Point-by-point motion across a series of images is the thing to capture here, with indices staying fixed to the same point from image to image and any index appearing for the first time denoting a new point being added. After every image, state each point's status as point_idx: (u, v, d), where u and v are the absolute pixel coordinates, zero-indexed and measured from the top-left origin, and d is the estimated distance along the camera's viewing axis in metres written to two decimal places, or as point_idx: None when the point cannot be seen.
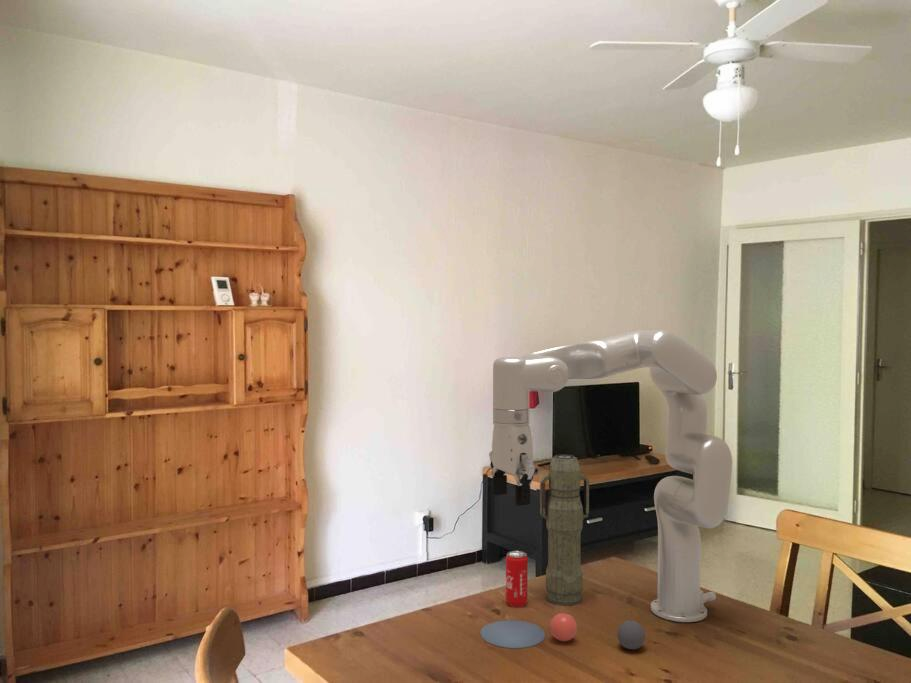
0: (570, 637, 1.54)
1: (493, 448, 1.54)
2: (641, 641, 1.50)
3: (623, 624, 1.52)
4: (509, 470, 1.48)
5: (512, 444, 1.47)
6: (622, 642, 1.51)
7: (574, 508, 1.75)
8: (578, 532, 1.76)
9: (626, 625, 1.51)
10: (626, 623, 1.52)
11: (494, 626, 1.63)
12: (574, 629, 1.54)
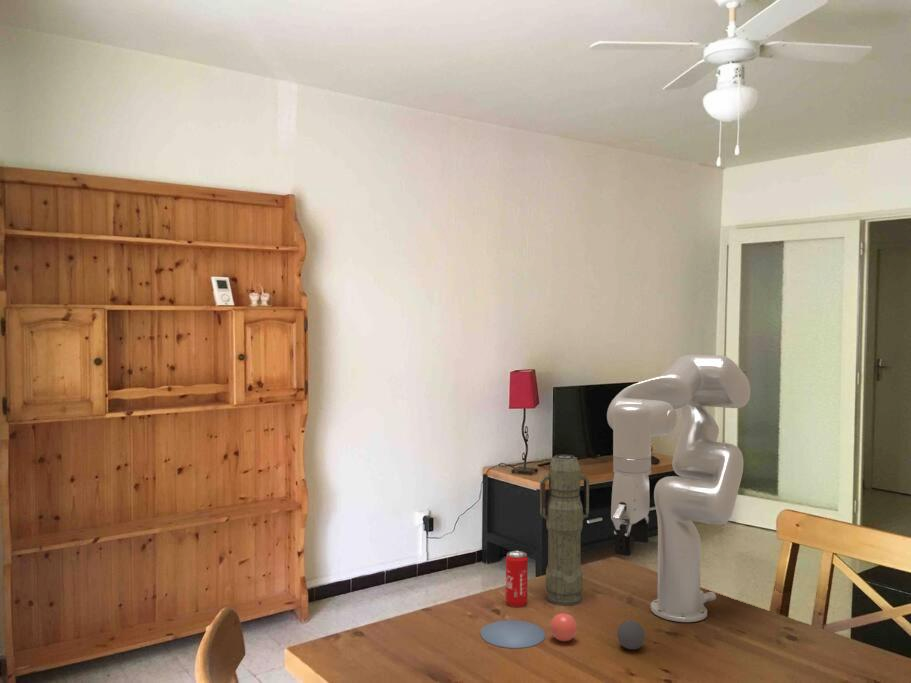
0: (570, 637, 1.54)
1: (636, 503, 1.46)
2: (641, 641, 1.50)
3: (623, 624, 1.52)
4: (647, 513, 1.51)
5: None
6: (622, 642, 1.51)
7: (574, 508, 1.75)
8: (578, 532, 1.76)
9: (626, 625, 1.51)
10: (626, 623, 1.52)
11: (494, 626, 1.63)
12: (574, 629, 1.54)
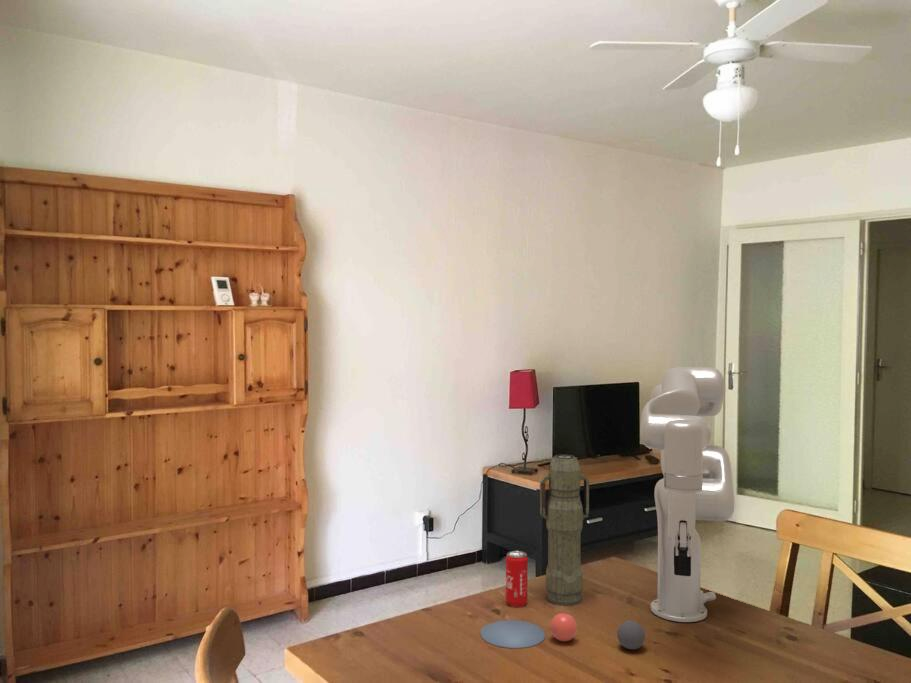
0: (570, 637, 1.54)
1: (694, 520, 1.45)
2: (641, 641, 1.50)
3: (623, 624, 1.52)
4: None
5: None
6: (622, 642, 1.51)
7: (574, 508, 1.75)
8: (578, 532, 1.76)
9: (626, 625, 1.51)
10: (626, 623, 1.52)
11: (494, 626, 1.63)
12: (574, 629, 1.54)
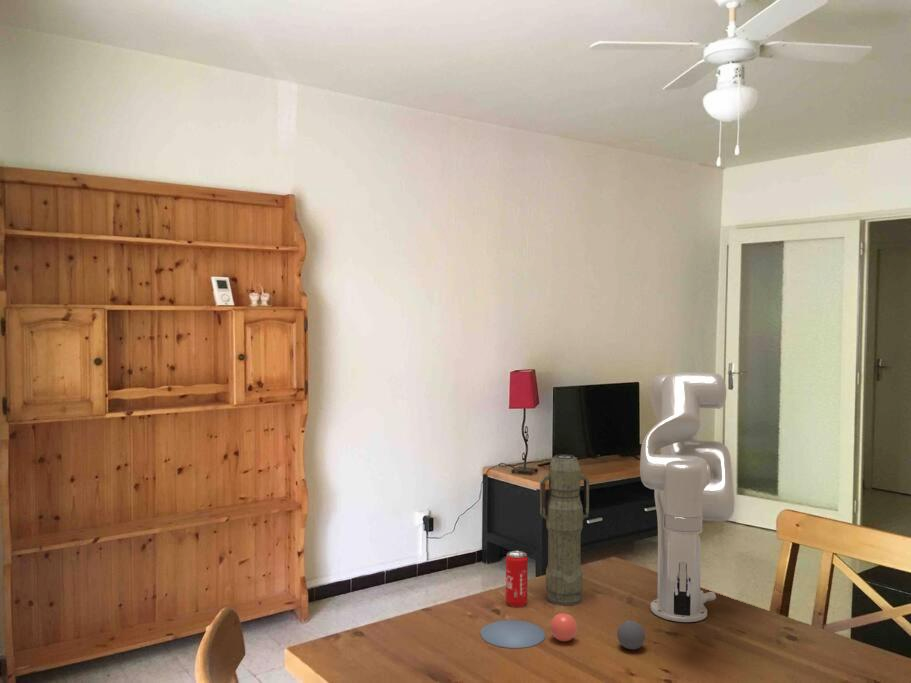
0: (570, 637, 1.54)
1: (694, 562, 1.45)
2: (641, 641, 1.50)
3: (623, 624, 1.52)
4: None
5: None
6: (622, 642, 1.51)
7: (574, 508, 1.75)
8: (578, 532, 1.76)
9: (626, 625, 1.51)
10: (626, 623, 1.52)
11: (494, 626, 1.63)
12: (574, 629, 1.54)
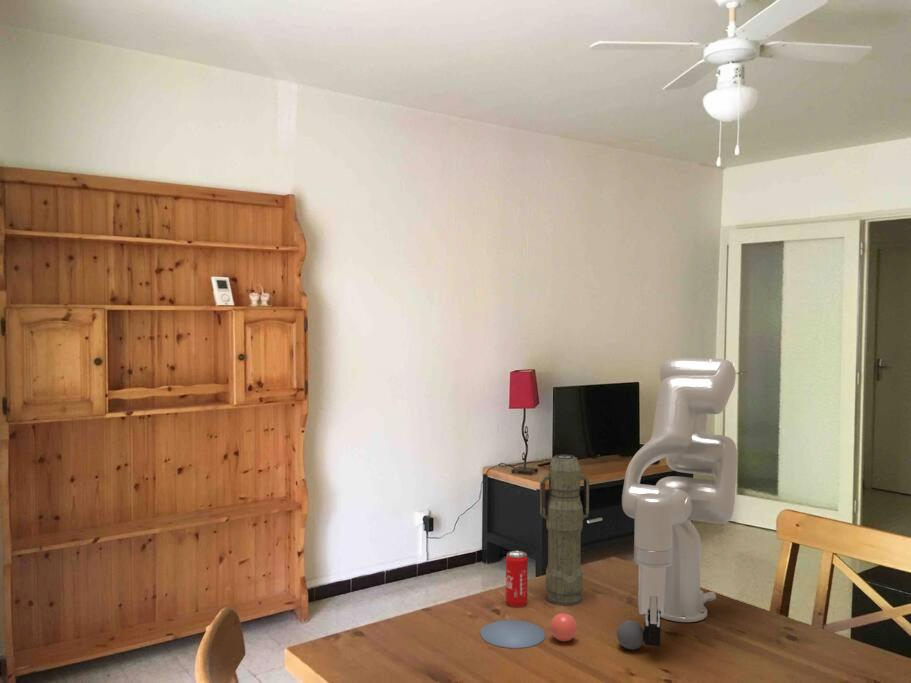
0: (570, 637, 1.54)
1: (664, 595, 1.47)
2: (641, 641, 1.50)
3: (623, 624, 1.52)
4: None
5: None
6: (622, 642, 1.51)
7: (574, 508, 1.75)
8: (578, 532, 1.76)
9: (626, 625, 1.51)
10: (626, 623, 1.52)
11: (494, 626, 1.63)
12: (574, 629, 1.54)
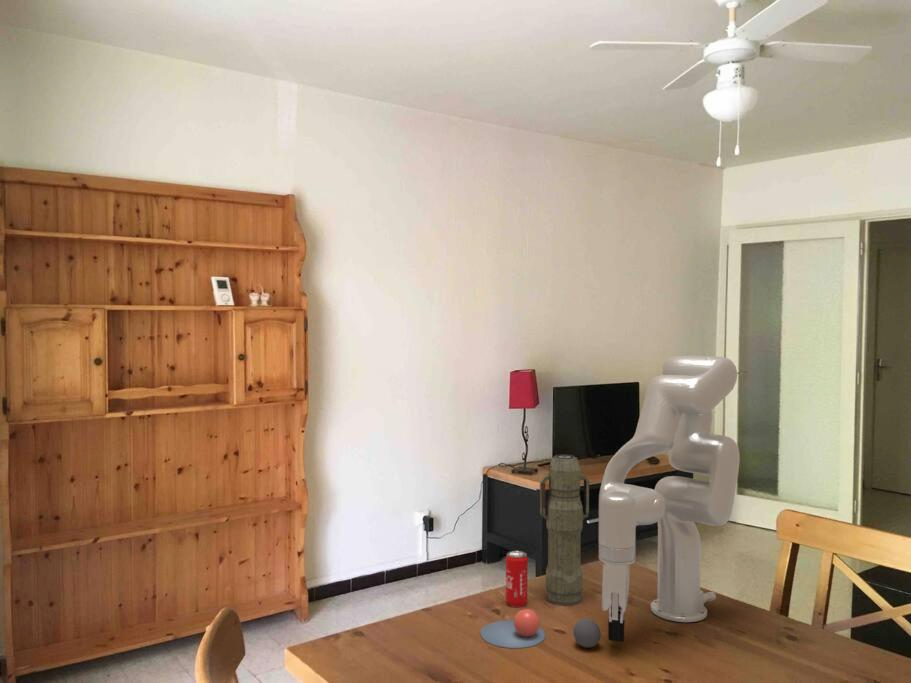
0: (519, 617, 1.57)
1: (626, 592, 1.49)
2: (577, 635, 1.52)
3: None
4: None
5: None
6: (596, 637, 1.51)
7: (574, 508, 1.75)
8: (578, 532, 1.76)
9: None
10: None
11: (494, 626, 1.63)
12: (514, 621, 1.58)
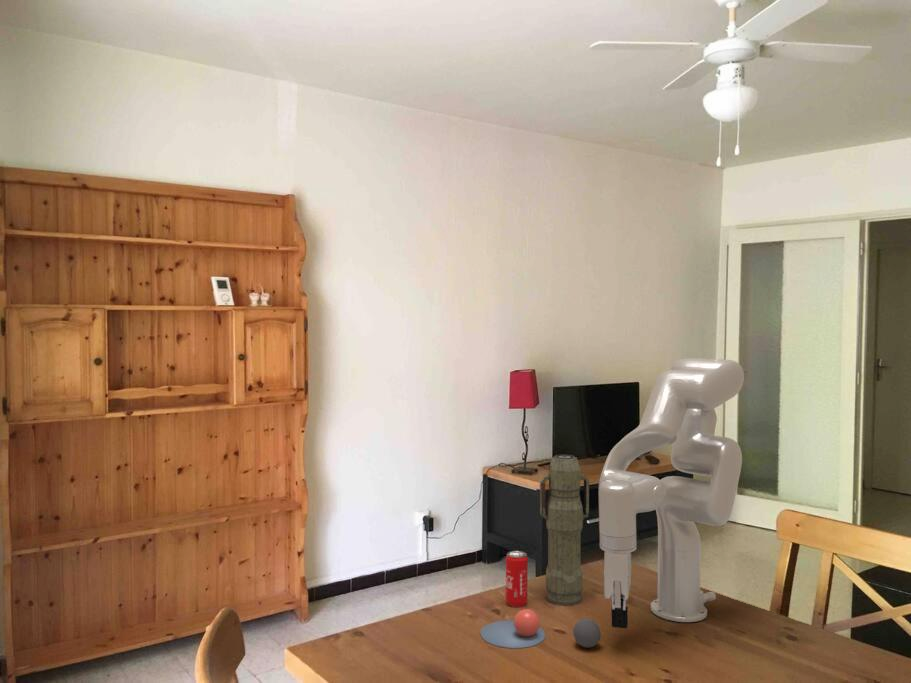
0: (519, 617, 1.57)
1: (628, 580, 1.49)
2: (577, 635, 1.52)
3: None
4: None
5: None
6: (596, 637, 1.51)
7: (574, 508, 1.75)
8: (578, 532, 1.76)
9: None
10: None
11: (494, 626, 1.63)
12: (514, 621, 1.58)
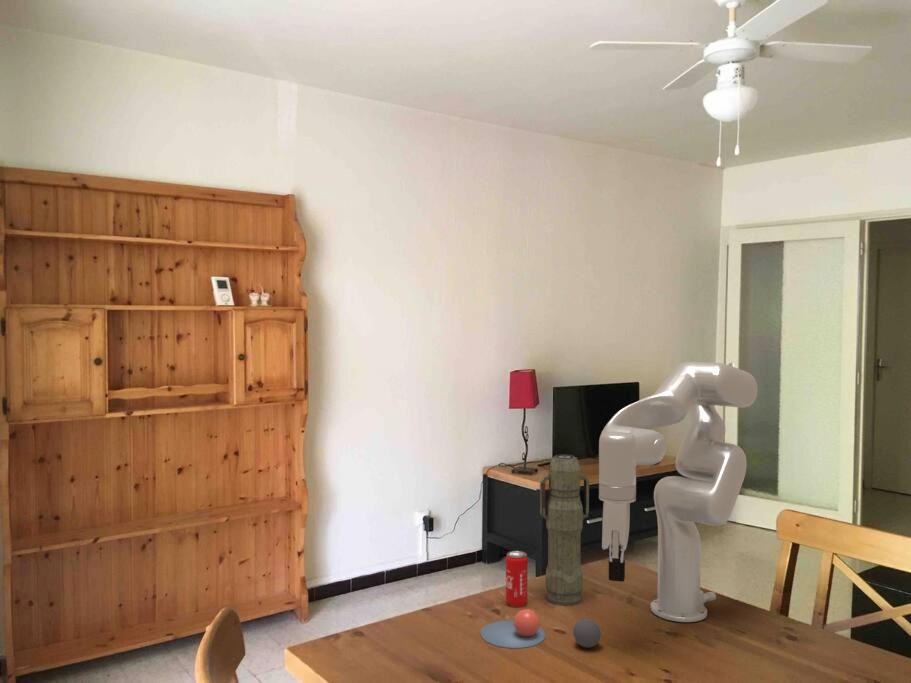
0: (519, 617, 1.57)
1: (627, 530, 1.49)
2: (577, 635, 1.52)
3: None
4: None
5: None
6: (596, 637, 1.51)
7: (574, 508, 1.75)
8: (578, 532, 1.76)
9: None
10: None
11: (494, 626, 1.63)
12: (514, 621, 1.58)
